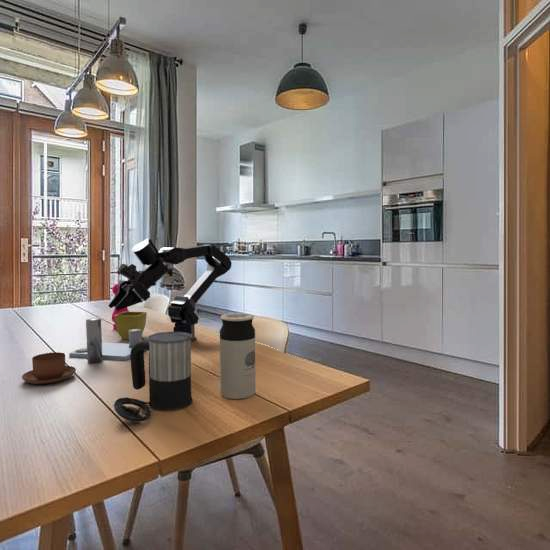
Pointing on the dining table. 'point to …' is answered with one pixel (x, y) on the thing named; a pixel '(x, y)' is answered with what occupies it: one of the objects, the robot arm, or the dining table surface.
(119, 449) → the dining table surface
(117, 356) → the flange plate
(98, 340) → the grey metallic rounded cylinder
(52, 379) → the cup and saucer
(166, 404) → the milk frother
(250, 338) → the travel mug
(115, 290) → the pepper mill
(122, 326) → the flower pot
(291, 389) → the dining table surface
